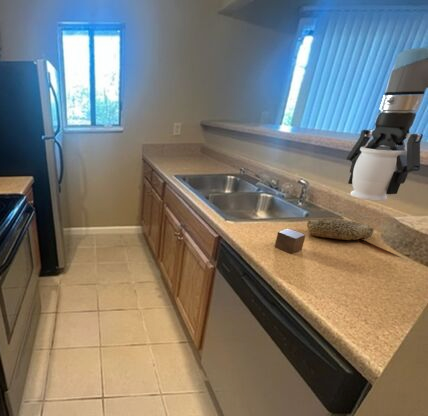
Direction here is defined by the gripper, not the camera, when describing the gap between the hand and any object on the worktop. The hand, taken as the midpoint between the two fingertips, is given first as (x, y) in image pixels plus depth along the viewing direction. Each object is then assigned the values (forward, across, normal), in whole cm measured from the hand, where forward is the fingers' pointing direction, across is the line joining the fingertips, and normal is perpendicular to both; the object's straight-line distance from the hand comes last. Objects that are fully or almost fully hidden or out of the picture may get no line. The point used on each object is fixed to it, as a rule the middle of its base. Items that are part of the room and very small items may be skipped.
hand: (370, 188), depth 84 cm
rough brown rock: (+24, -12, +9) cm, 28 cm away
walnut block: (+24, -8, -16) cm, 29 cm away
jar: (+3, 0, 0) cm, 3 cm away
